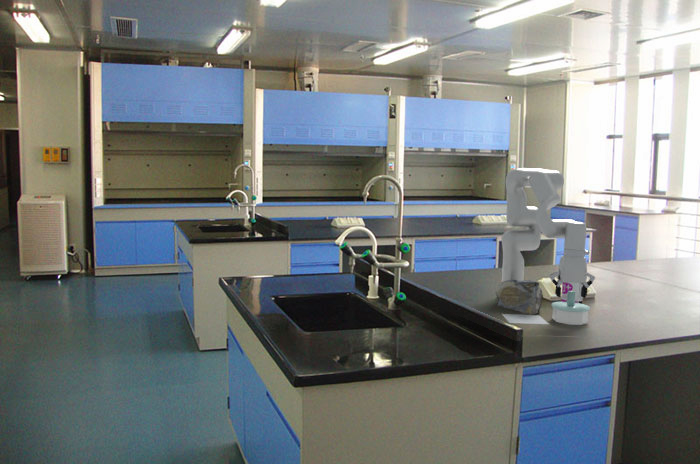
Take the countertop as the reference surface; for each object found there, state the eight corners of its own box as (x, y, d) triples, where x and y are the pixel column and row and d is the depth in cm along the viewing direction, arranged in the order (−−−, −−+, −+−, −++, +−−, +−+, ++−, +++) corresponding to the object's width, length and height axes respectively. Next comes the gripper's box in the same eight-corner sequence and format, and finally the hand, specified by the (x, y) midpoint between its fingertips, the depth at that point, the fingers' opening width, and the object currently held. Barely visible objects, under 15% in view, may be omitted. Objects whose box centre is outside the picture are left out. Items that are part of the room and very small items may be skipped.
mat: (501, 314, 235) (501, 313, 235) (538, 316, 234) (538, 315, 234) (509, 324, 221) (509, 322, 221) (549, 325, 221) (549, 324, 221)
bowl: (549, 317, 233) (550, 303, 233) (579, 318, 233) (580, 304, 232) (559, 324, 221) (560, 310, 221) (590, 325, 221) (591, 311, 220)
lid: (546, 303, 234) (547, 287, 233) (582, 304, 233) (583, 288, 233) (558, 311, 220) (559, 294, 219) (595, 312, 219) (596, 295, 219)
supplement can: (568, 314, 238) (571, 278, 236) (556, 310, 246) (558, 275, 244) (585, 314, 240) (588, 278, 238) (573, 309, 248) (575, 274, 246)
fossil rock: (494, 315, 250) (492, 280, 252) (510, 313, 255) (507, 279, 257) (531, 315, 233) (529, 278, 235) (547, 314, 238) (545, 278, 240)
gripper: (592, 252, 228) (589, 295, 230) (548, 251, 228) (545, 293, 230) (600, 255, 220) (596, 299, 222) (554, 254, 221) (551, 298, 223)
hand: (570, 296), depth 226 cm, fingers open, 9 cm apart
